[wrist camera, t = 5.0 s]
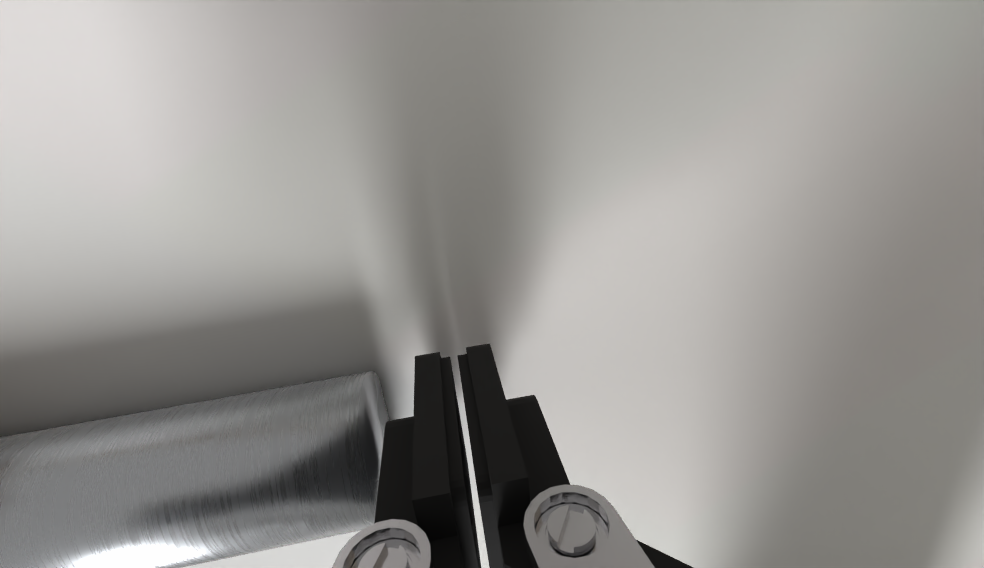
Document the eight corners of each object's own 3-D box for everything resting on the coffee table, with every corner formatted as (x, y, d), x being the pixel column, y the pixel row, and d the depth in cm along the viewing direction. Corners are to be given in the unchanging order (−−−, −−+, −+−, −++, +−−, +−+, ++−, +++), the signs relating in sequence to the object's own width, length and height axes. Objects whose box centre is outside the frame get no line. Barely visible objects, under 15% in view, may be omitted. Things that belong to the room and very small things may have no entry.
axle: (370, 343, 11) (355, 449, 8) (398, 440, 12) (393, 558, 9) (-306, 460, 9) (-610, 634, 7) (-183, 552, 11) (-387, 725, 8)
